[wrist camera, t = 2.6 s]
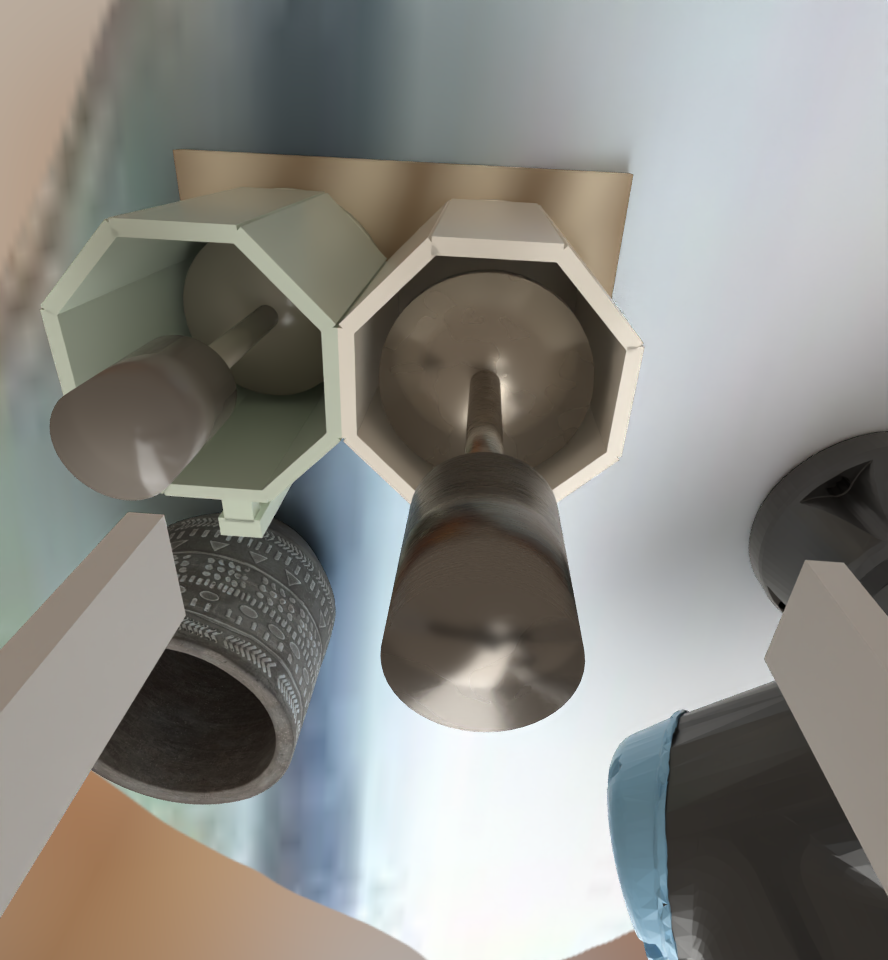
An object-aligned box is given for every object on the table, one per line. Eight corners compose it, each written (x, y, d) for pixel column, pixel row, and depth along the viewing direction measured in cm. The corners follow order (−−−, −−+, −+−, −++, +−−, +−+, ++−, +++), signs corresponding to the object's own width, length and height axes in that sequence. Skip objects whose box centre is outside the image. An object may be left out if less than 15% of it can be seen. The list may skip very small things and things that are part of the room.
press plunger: (608, 275, 23) (778, 485, 9) (574, 475, 27) (659, 817, 14) (380, 262, 23) (231, 447, 10) (381, 462, 27) (278, 784, 14)
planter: (143, 479, 44) (0, 625, 31) (340, 487, 44) (278, 639, 31) (182, 629, 51) (78, 799, 38) (353, 638, 51) (306, 814, 38)
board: (628, 173, 33) (633, 174, 32) (586, 416, 40) (589, 424, 39) (182, 149, 34) (172, 149, 33) (217, 391, 41) (210, 398, 40)
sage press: (390, 193, 33) (281, 264, 16) (389, 436, 40) (314, 672, 23) (186, 181, 33) (-143, 239, 16) (221, 425, 40) (20, 648, 23)
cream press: (599, 204, 33) (664, 249, 20) (561, 448, 40) (593, 589, 28) (390, 193, 33) (333, 230, 21) (389, 436, 40) (346, 570, 28)
